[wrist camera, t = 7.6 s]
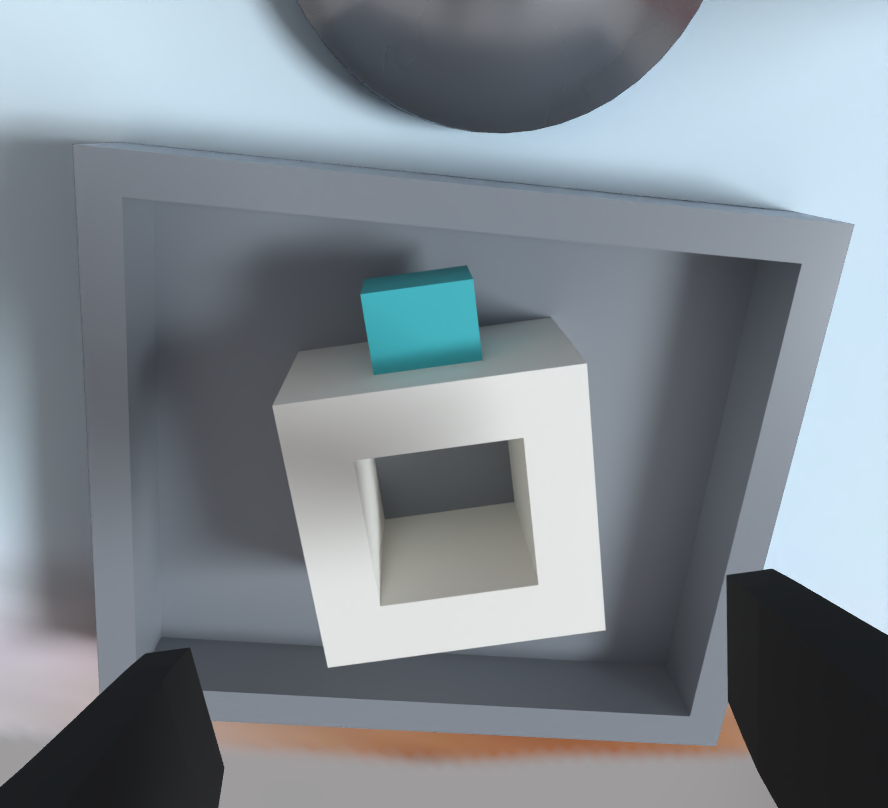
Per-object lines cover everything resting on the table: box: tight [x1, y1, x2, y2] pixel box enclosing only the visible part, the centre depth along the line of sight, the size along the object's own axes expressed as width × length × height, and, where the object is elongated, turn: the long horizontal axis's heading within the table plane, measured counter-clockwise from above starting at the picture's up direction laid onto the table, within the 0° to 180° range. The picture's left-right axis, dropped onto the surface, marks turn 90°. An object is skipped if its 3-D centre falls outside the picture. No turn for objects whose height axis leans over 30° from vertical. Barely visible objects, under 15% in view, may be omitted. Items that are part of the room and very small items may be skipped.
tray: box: [73, 142, 854, 746], centre depth 17 cm, size 14×12×2 cm
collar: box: [272, 265, 606, 668], centre depth 16 cm, size 5×7×4 cm
